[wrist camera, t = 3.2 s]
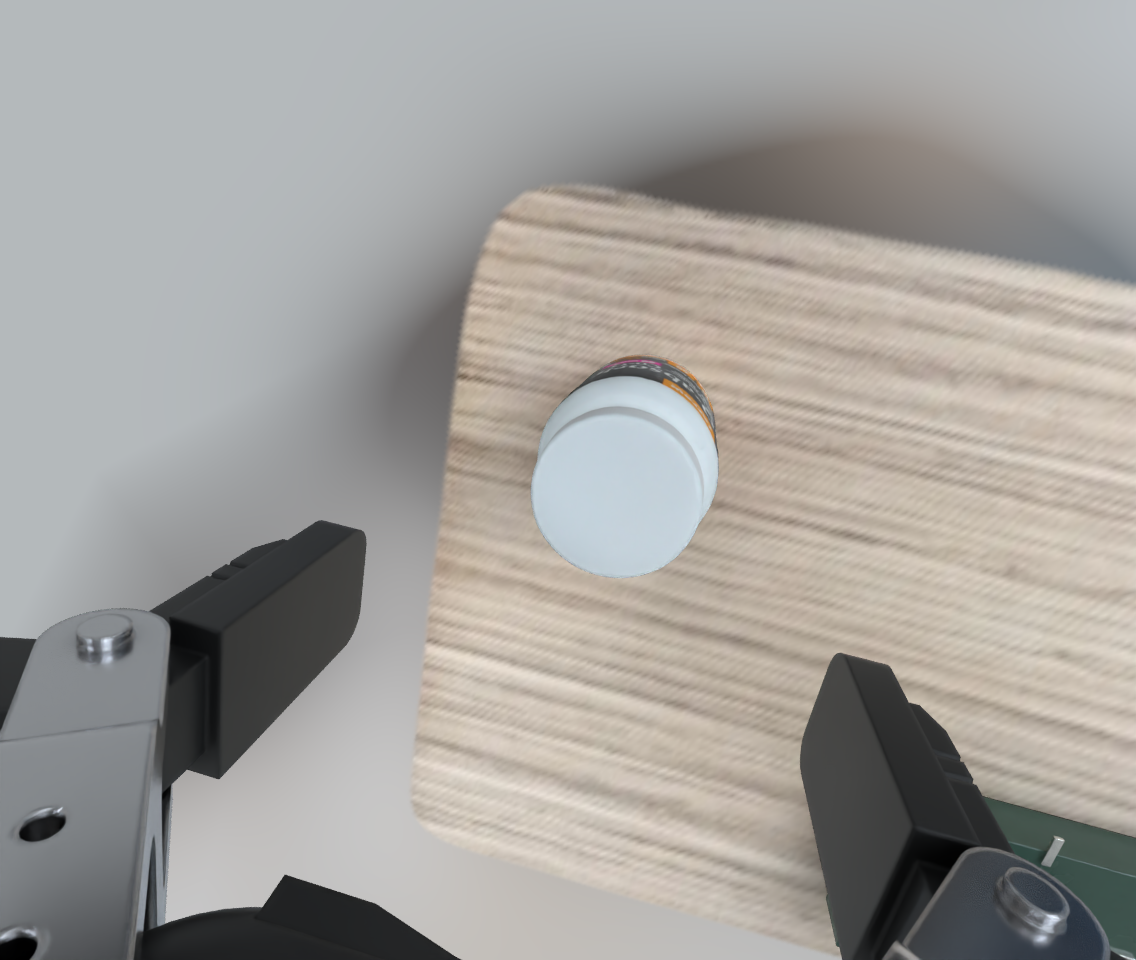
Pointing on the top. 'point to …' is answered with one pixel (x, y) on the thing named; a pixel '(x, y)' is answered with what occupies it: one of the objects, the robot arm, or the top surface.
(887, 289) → the top surface
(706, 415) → the pill bottle
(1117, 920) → the base plate
